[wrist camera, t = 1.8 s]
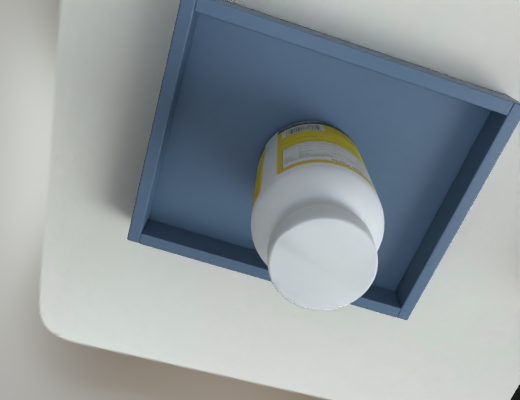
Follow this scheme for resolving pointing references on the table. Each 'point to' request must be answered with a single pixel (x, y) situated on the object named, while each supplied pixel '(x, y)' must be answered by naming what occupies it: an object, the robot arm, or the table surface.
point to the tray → (310, 109)
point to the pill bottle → (316, 216)
